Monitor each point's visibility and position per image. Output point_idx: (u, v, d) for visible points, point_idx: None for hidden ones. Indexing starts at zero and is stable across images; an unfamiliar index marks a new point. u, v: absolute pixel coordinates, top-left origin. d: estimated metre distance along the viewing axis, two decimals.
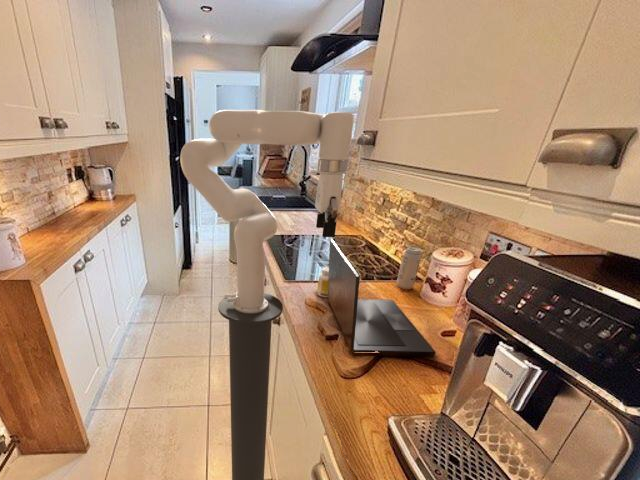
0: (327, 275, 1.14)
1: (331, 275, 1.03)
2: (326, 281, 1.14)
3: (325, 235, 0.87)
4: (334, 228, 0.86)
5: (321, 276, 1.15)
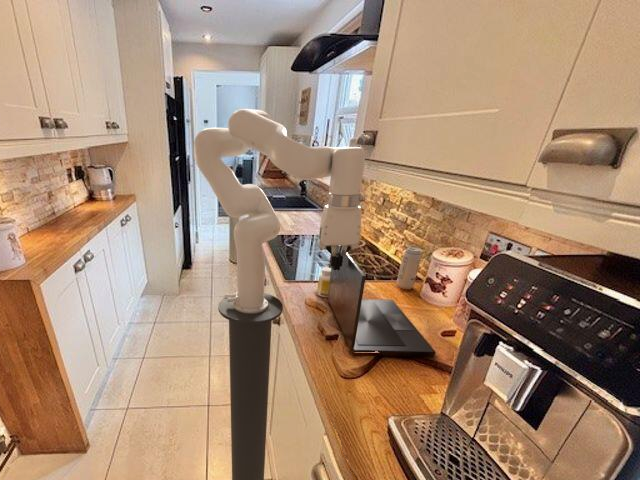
0: (327, 275, 1.14)
1: (333, 275, 1.03)
2: (326, 281, 1.14)
3: (332, 266, 0.91)
4: (334, 262, 0.88)
5: (321, 276, 1.15)
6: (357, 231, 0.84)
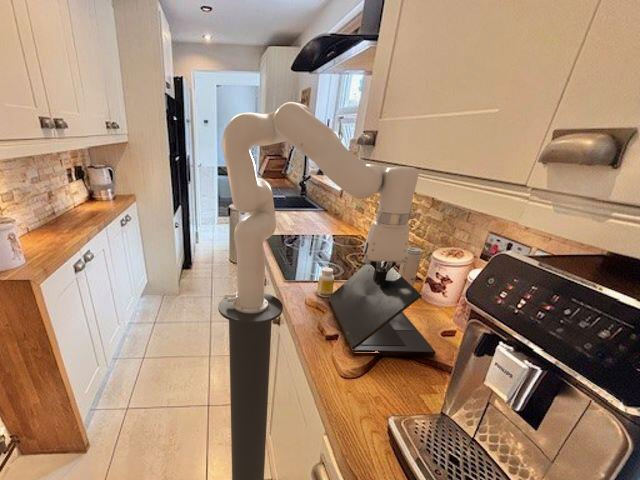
0: (327, 275, 1.14)
1: (355, 281, 1.04)
2: (326, 281, 1.14)
3: (374, 280, 0.93)
4: (378, 277, 0.90)
5: (321, 276, 1.15)
6: (404, 248, 0.85)
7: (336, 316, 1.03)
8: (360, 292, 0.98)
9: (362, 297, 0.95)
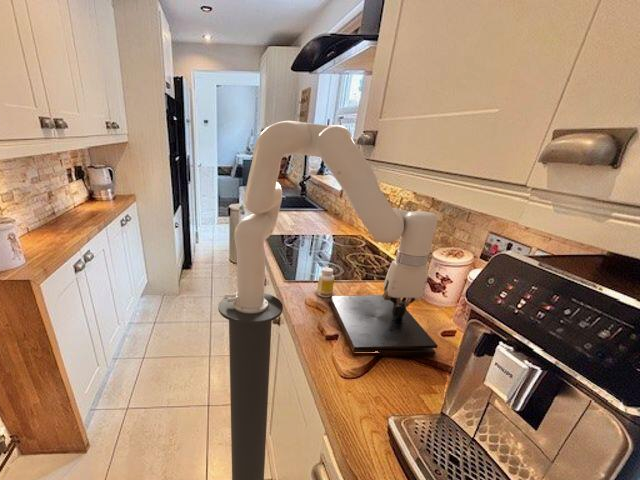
0: (327, 275, 1.14)
1: (365, 301, 1.07)
2: (326, 281, 1.14)
3: None
4: (397, 311, 0.95)
5: (321, 276, 1.15)
6: (423, 286, 0.90)
7: (336, 316, 1.03)
8: (370, 311, 1.01)
9: (372, 316, 0.98)
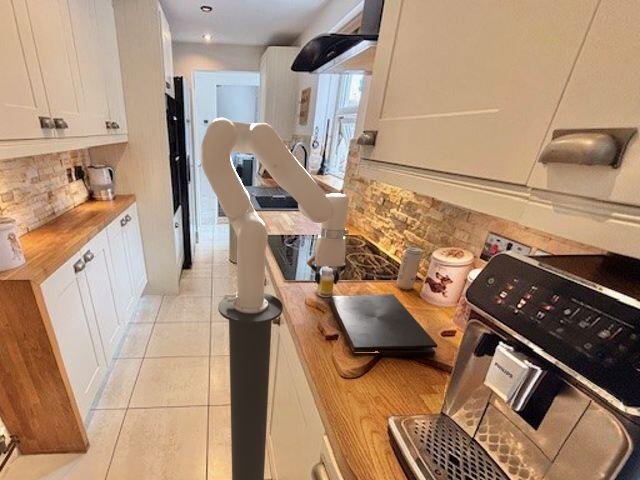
0: (327, 275, 1.14)
1: (365, 300, 1.07)
2: (326, 281, 1.14)
3: None
4: (317, 277, 1.15)
5: (321, 276, 1.15)
6: (342, 256, 1.10)
7: (336, 316, 1.03)
8: (370, 311, 1.01)
9: (372, 316, 0.98)
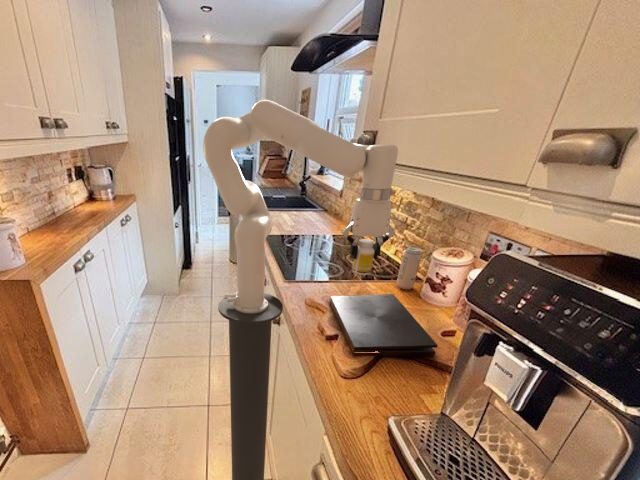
0: (366, 248, 0.94)
1: (365, 300, 1.07)
2: (366, 254, 0.94)
3: (351, 255, 0.97)
4: (354, 251, 0.95)
5: (359, 249, 0.95)
6: (387, 223, 0.90)
7: (336, 316, 1.03)
8: (370, 311, 1.01)
9: (372, 316, 0.98)
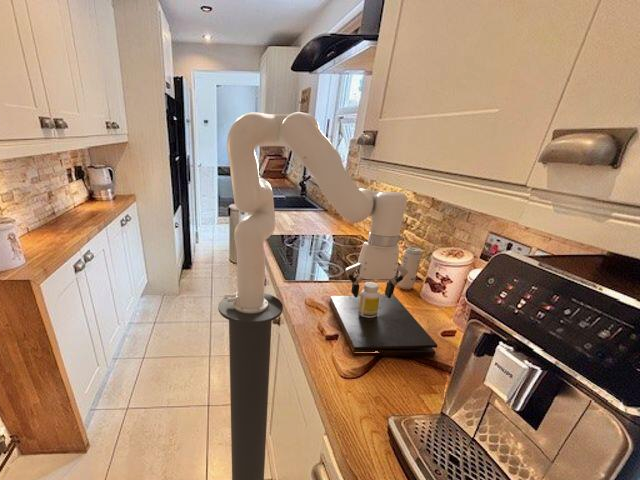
0: (371, 292, 0.94)
1: None
2: (371, 299, 0.94)
3: (353, 292, 0.97)
4: (356, 290, 0.94)
5: (364, 293, 0.95)
6: (394, 267, 0.90)
7: (336, 316, 1.03)
8: None
9: None
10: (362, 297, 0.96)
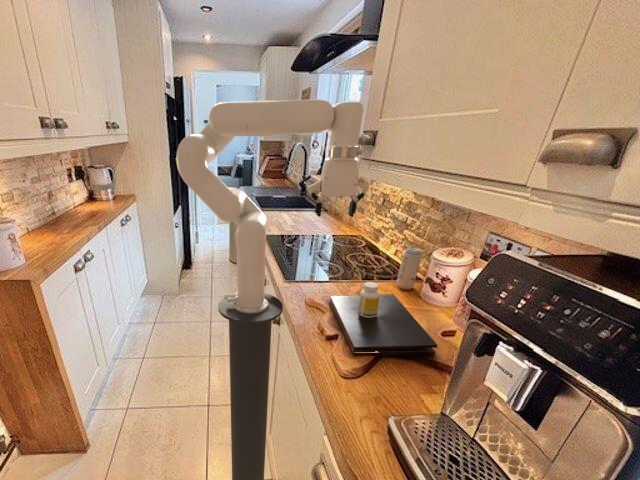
0: (371, 292, 0.94)
1: None
2: (371, 299, 0.94)
3: (317, 213, 0.99)
4: (318, 208, 0.96)
5: (364, 293, 0.95)
6: (354, 182, 0.92)
7: (336, 316, 1.03)
8: None
9: None
10: (362, 297, 0.96)
